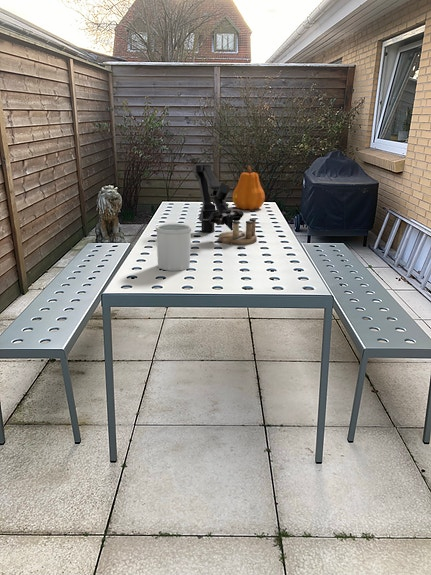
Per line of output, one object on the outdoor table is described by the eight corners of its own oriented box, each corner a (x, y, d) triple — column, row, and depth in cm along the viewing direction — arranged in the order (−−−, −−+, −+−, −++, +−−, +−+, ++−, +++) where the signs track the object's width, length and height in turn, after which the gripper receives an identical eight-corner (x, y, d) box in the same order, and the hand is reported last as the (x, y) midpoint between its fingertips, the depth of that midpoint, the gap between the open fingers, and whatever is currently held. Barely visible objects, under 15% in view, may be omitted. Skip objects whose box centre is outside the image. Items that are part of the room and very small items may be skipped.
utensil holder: (173, 259, 211) (173, 221, 205) (198, 265, 202) (198, 226, 196) (149, 266, 200) (148, 226, 194) (174, 273, 191) (173, 232, 185)
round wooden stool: (211, 238, 249) (211, 217, 245) (240, 234, 260) (241, 214, 256) (234, 246, 233) (234, 224, 230) (264, 241, 244) (265, 220, 241)
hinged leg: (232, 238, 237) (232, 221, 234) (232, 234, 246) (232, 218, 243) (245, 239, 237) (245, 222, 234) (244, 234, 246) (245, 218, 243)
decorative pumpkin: (228, 205, 345) (229, 164, 335) (259, 205, 350) (261, 164, 339) (235, 211, 324) (236, 167, 314) (268, 210, 328) (270, 167, 318)
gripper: (229, 213, 253) (240, 237, 248) (200, 215, 244) (210, 240, 238) (238, 200, 244) (249, 225, 239) (208, 202, 235) (218, 227, 229)
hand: (232, 230), depth 236 cm, fingers closed
